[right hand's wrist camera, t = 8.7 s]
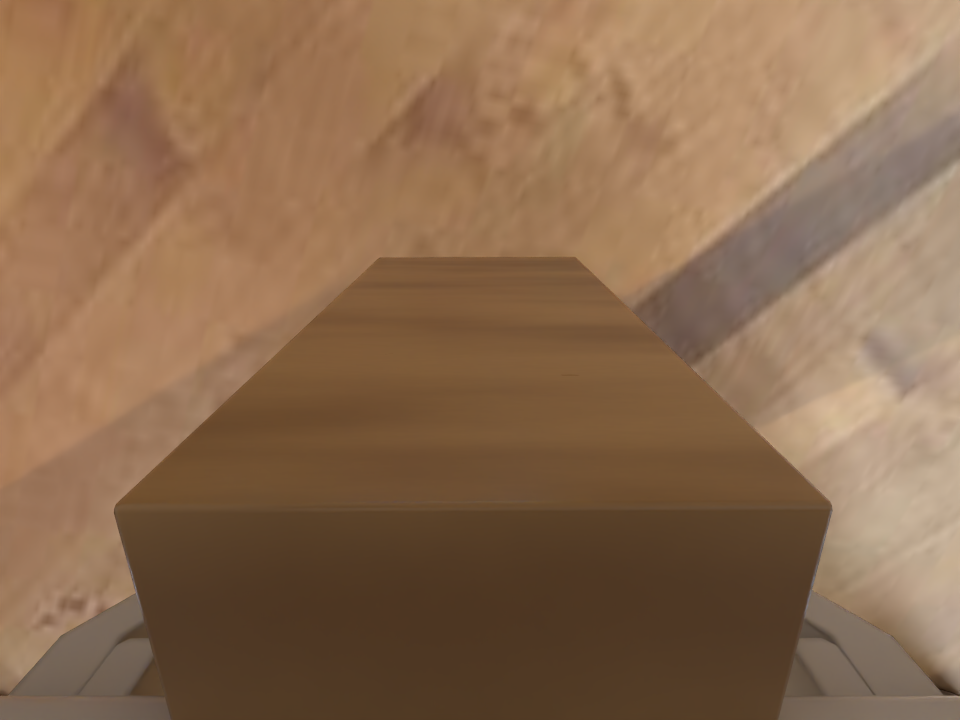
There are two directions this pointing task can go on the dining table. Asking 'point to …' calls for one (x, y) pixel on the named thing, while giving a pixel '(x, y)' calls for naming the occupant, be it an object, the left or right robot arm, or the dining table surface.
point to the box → (474, 518)
